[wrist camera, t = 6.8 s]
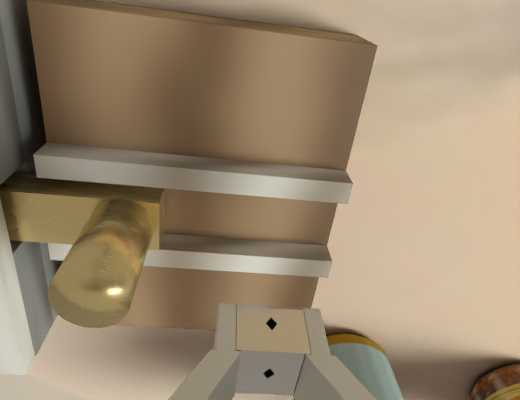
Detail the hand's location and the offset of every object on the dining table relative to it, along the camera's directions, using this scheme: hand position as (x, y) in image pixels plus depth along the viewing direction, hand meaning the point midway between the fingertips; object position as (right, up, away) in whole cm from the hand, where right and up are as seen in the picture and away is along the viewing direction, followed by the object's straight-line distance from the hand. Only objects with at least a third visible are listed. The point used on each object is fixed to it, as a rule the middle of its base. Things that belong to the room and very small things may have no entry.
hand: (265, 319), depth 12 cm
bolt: (-9, +4, +6) cm, 11 cm away
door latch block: (-7, +5, +9) cm, 12 cm away
